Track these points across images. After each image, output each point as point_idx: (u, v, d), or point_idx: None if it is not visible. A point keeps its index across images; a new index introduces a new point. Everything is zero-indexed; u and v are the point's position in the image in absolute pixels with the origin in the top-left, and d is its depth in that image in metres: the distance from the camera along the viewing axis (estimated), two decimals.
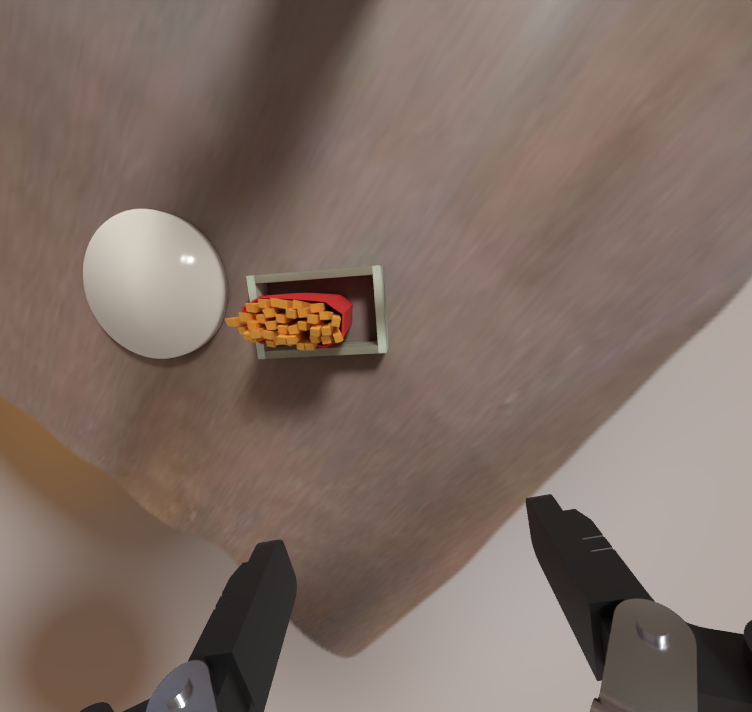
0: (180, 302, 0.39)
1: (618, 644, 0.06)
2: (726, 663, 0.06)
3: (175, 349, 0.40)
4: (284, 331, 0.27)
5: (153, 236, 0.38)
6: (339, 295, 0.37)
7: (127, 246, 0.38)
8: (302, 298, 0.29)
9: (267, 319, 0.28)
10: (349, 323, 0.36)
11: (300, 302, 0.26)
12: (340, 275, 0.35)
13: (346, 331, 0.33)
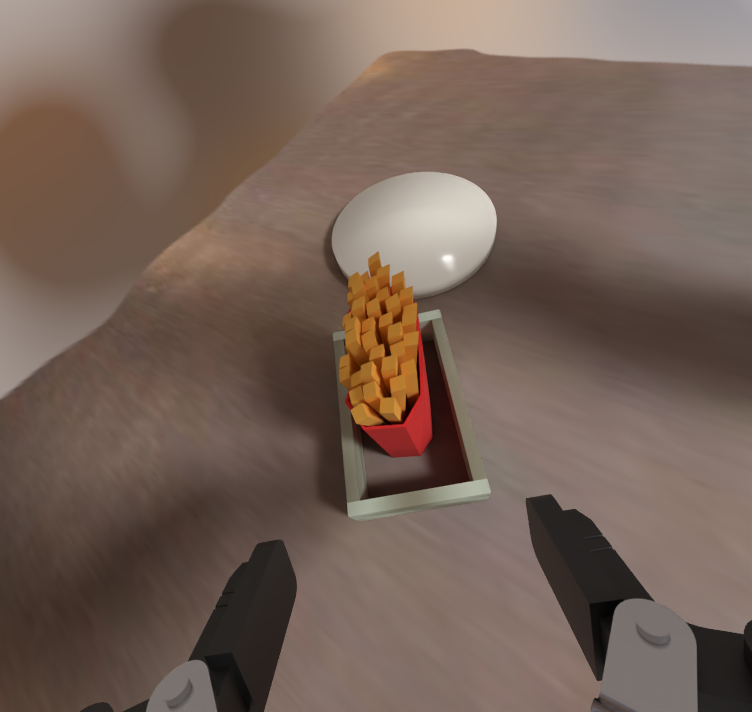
0: (396, 251, 0.34)
1: (618, 644, 0.06)
2: (726, 663, 0.06)
3: (342, 252, 0.35)
4: (365, 328, 0.17)
5: (466, 221, 0.34)
6: (431, 432, 0.25)
7: (451, 202, 0.36)
8: (421, 360, 0.19)
9: (382, 307, 0.18)
10: (390, 449, 0.23)
11: (415, 342, 0.15)
12: (462, 429, 0.23)
13: (376, 440, 0.20)
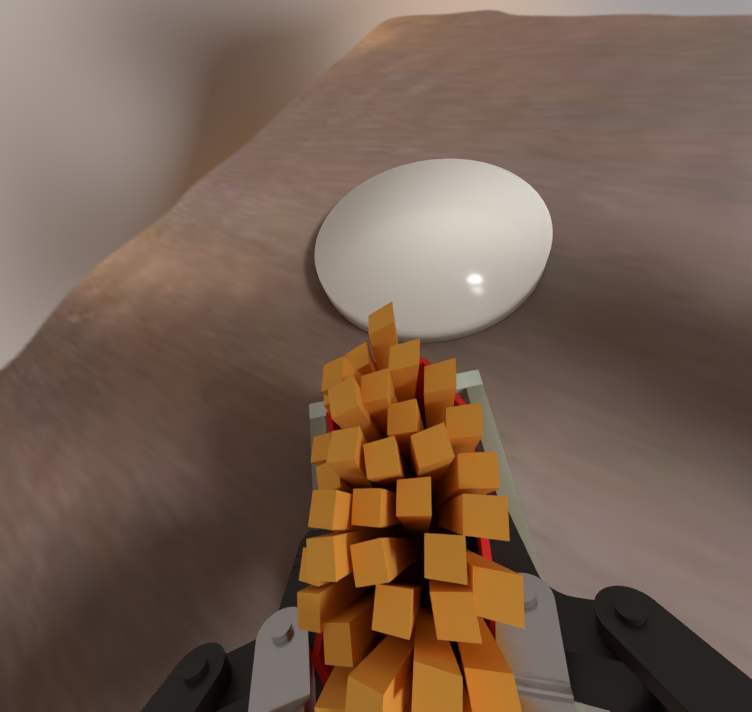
0: (406, 271, 0.23)
1: None
2: (580, 624, 0.07)
3: (328, 271, 0.25)
4: (362, 517, 0.07)
5: (507, 227, 0.23)
6: None
7: (482, 199, 0.25)
8: (487, 551, 0.08)
9: (402, 439, 0.08)
10: None
11: (516, 617, 0.05)
12: None
13: None
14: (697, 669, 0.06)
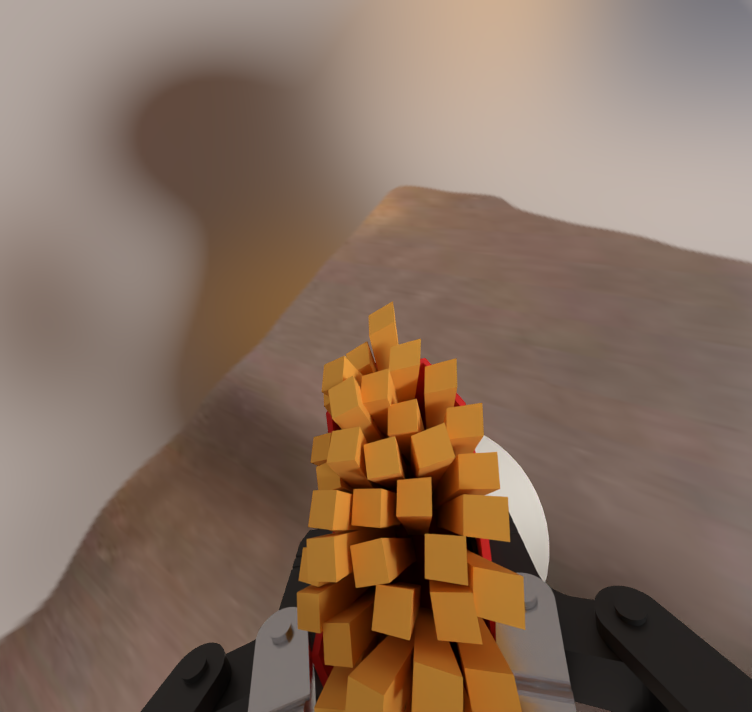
0: None
1: None
2: (581, 624, 0.07)
3: None
4: (362, 517, 0.07)
5: None
6: None
7: None
8: (486, 552, 0.08)
9: (403, 439, 0.08)
10: None
11: (517, 617, 0.05)
12: None
13: None
14: (697, 669, 0.06)
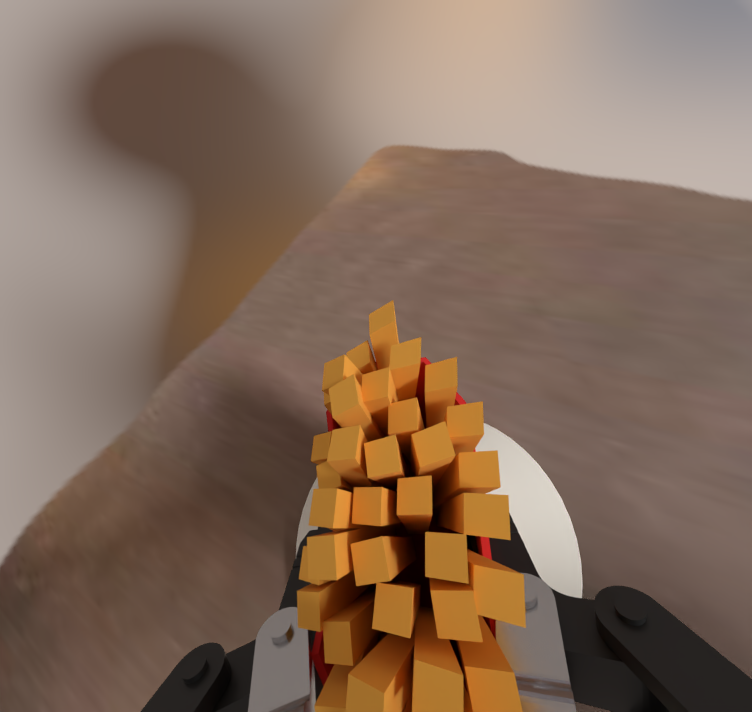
0: None
1: None
2: (581, 624, 0.07)
3: None
4: (362, 516, 0.07)
5: None
6: None
7: None
8: (486, 550, 0.08)
9: (403, 437, 0.08)
10: None
11: (517, 616, 0.05)
12: None
13: None
14: (697, 669, 0.06)
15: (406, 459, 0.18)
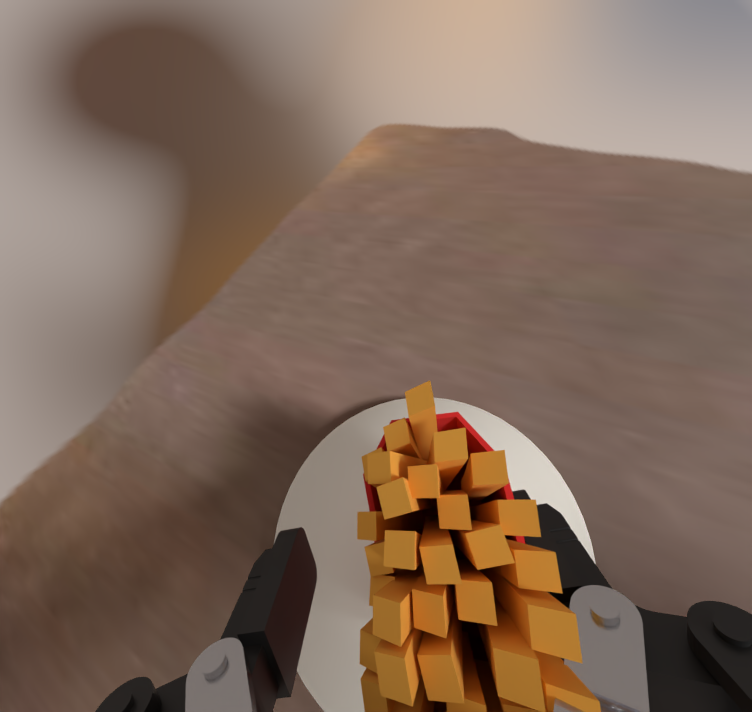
0: None
1: None
2: (670, 643, 0.07)
3: None
4: (425, 622, 0.07)
5: None
6: None
7: None
8: None
9: None
10: None
11: None
12: None
13: None
14: None
15: None
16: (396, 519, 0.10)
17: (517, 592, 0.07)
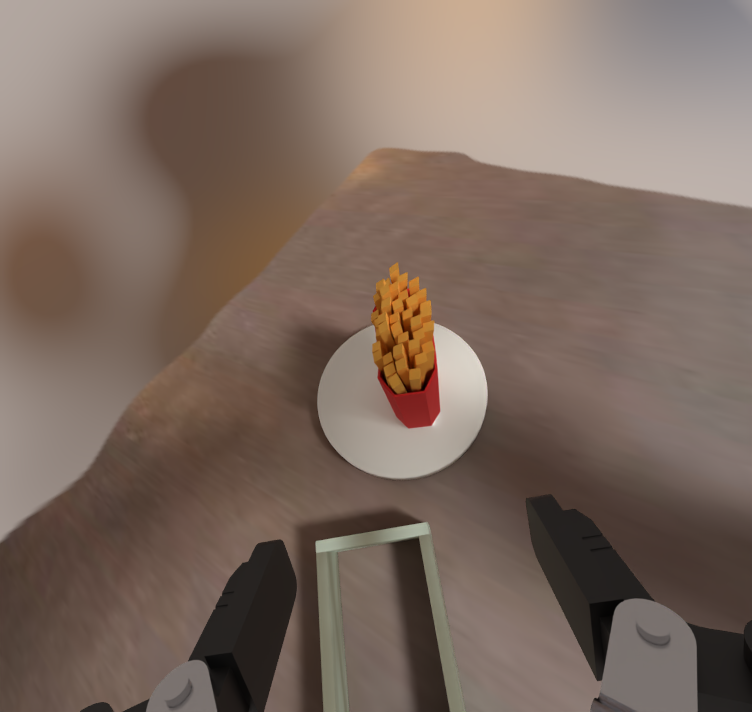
0: (384, 424, 0.32)
1: (618, 644, 0.06)
2: (726, 663, 0.06)
3: (328, 418, 0.34)
4: (393, 321, 0.23)
5: (456, 391, 0.33)
6: (439, 405, 0.30)
7: (440, 362, 0.34)
8: (433, 344, 0.25)
9: (403, 304, 0.24)
10: (409, 419, 0.29)
11: (432, 328, 0.21)
12: (449, 696, 0.22)
13: (400, 409, 0.26)
14: None
15: None
16: None
17: None
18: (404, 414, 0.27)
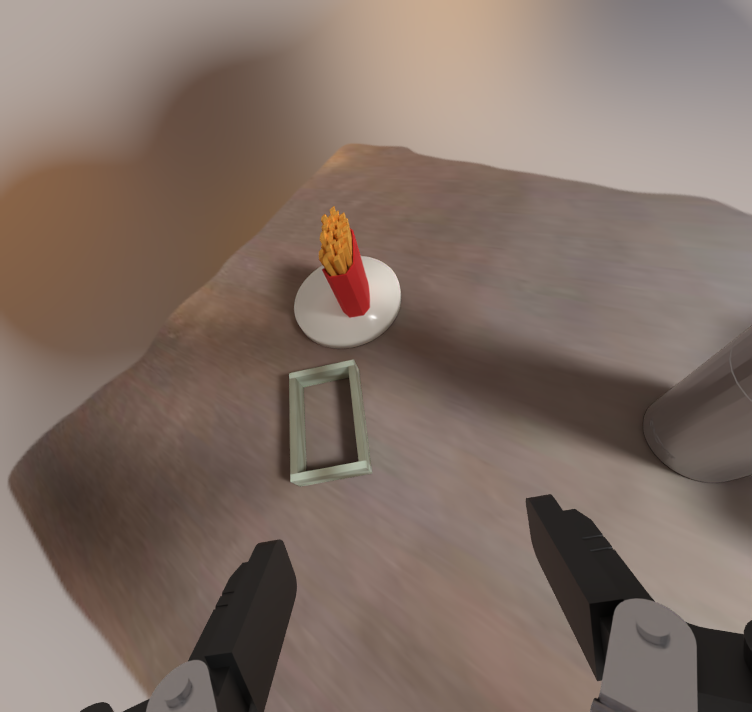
0: (335, 316, 0.51)
1: (618, 644, 0.06)
2: (726, 663, 0.06)
3: (300, 315, 0.53)
4: (328, 235, 0.42)
5: (381, 296, 0.52)
6: (367, 300, 0.49)
7: (373, 280, 0.53)
8: (354, 252, 0.44)
9: (336, 228, 0.43)
10: (346, 304, 0.48)
11: (346, 236, 0.40)
12: (356, 433, 0.41)
13: (337, 291, 0.45)
14: None
15: None
16: None
17: None
18: (341, 298, 0.46)
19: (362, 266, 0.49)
